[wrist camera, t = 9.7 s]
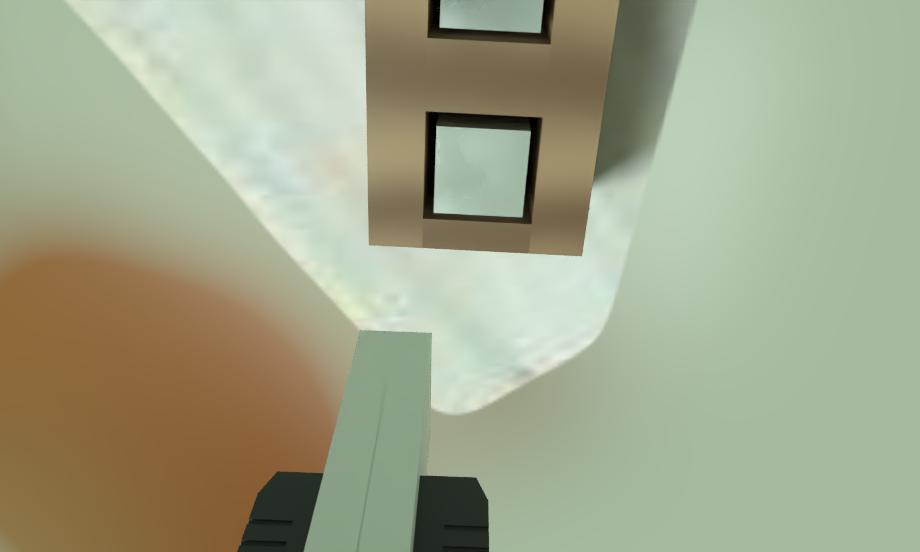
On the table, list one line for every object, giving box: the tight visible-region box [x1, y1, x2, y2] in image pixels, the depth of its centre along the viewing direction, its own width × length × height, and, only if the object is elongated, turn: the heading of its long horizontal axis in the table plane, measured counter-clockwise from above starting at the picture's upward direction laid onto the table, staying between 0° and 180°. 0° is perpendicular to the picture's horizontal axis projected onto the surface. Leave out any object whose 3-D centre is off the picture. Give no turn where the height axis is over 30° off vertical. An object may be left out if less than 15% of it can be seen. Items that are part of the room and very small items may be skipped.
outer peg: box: [434, 112, 531, 217], centre depth 34 cm, size 4×4×6 cm
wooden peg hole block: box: [365, 0, 619, 256], centre depth 33 cm, size 16×10×7 cm, turn 177°
